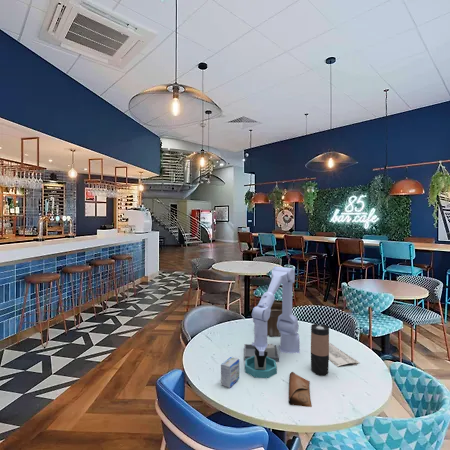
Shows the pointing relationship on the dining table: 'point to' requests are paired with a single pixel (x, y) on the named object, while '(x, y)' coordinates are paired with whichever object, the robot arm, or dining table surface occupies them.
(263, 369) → the white rectangular block
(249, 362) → the bowl
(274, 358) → the parts tray
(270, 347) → the light gray cube block
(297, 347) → the robot arm
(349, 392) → the dining table surface
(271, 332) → the plant pot
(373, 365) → the dining table surface
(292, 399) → the sunglasses case
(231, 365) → the medicine box
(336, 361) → the newspaper
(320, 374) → the travel mug
